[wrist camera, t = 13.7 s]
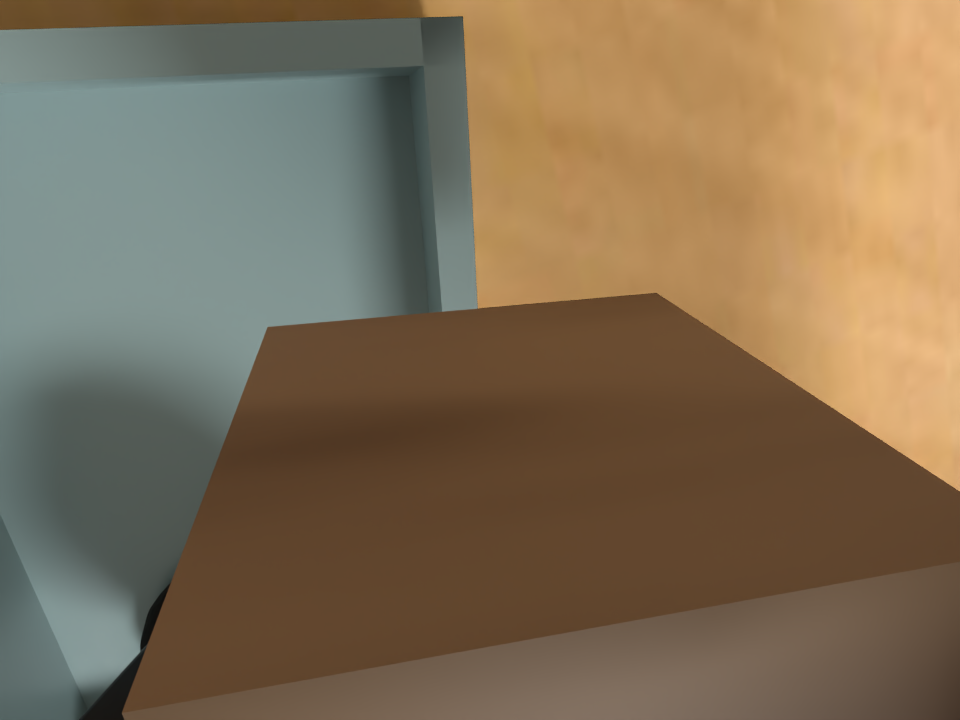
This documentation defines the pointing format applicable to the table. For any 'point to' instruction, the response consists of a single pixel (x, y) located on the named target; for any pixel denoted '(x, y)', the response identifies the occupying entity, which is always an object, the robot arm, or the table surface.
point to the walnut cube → (553, 534)
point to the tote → (188, 283)
